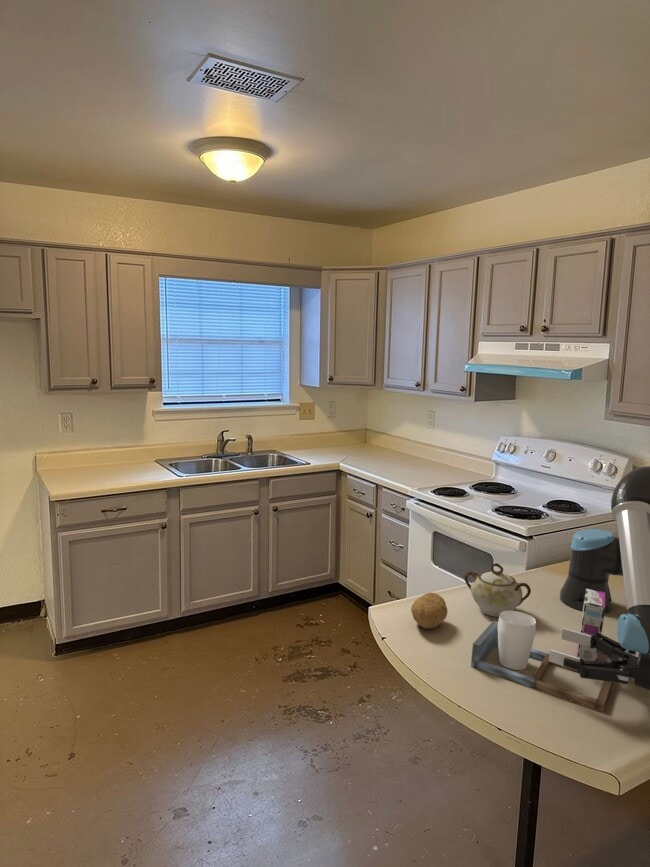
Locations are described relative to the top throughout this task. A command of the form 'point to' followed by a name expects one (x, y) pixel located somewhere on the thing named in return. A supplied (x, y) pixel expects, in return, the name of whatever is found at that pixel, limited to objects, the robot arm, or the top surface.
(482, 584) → the sugar bowl
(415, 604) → the potato
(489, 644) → the bay frame
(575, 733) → the top surface
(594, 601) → the candy bar box
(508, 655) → the cup
